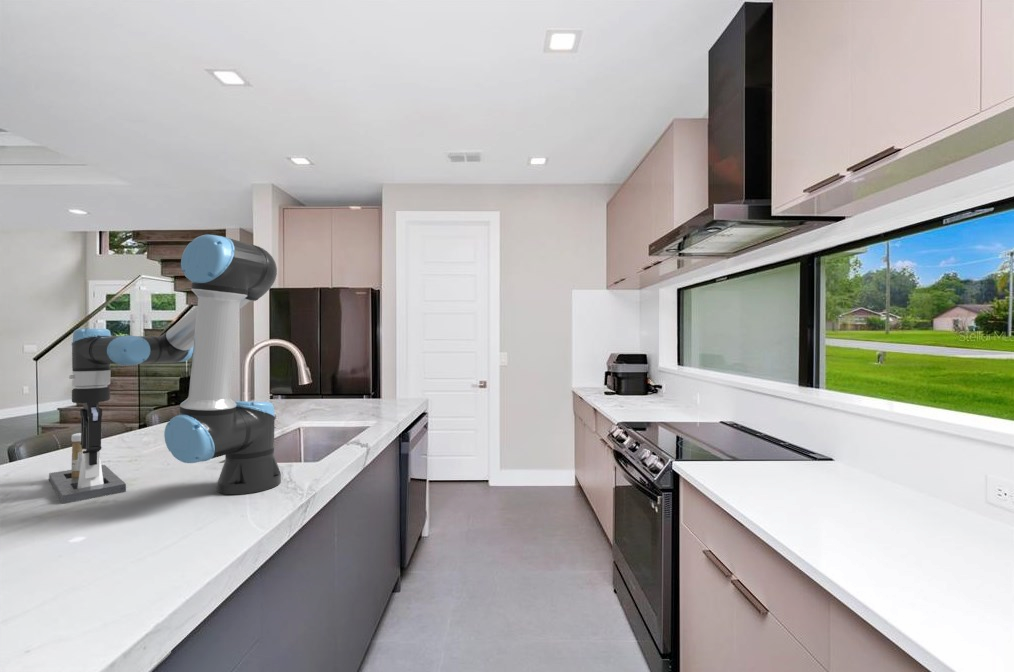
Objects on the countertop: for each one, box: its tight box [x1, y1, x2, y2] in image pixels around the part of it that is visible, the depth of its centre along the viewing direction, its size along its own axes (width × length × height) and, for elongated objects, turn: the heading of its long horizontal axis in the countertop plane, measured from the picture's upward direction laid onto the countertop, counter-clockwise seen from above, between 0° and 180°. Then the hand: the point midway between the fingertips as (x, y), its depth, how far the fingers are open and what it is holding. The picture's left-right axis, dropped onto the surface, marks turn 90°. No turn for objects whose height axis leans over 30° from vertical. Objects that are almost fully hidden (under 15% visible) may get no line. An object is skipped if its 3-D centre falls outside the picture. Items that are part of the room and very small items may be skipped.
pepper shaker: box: [77, 455, 104, 489], centre depth 121 cm, size 5×5×11 cm
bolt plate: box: [48, 464, 127, 505], centre depth 125 cm, size 30×12×2 cm, turn 49°
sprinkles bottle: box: [70, 432, 83, 478], centre depth 130 cm, size 5×5×14 cm
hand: (90, 475), depth 121 cm, fingers open, 5 cm apart
